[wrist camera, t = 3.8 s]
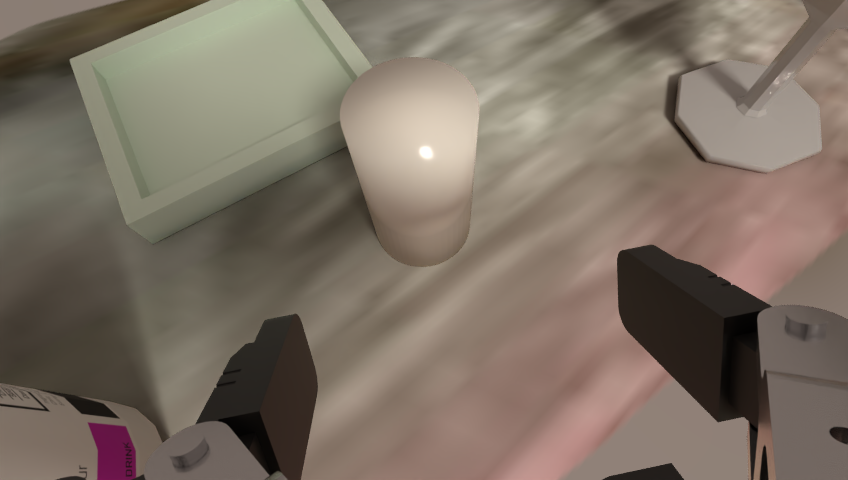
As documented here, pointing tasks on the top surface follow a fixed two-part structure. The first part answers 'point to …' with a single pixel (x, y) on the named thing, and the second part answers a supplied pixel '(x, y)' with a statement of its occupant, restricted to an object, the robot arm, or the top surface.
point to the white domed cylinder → (414, 155)
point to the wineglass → (759, 101)
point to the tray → (216, 105)
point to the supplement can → (71, 437)
